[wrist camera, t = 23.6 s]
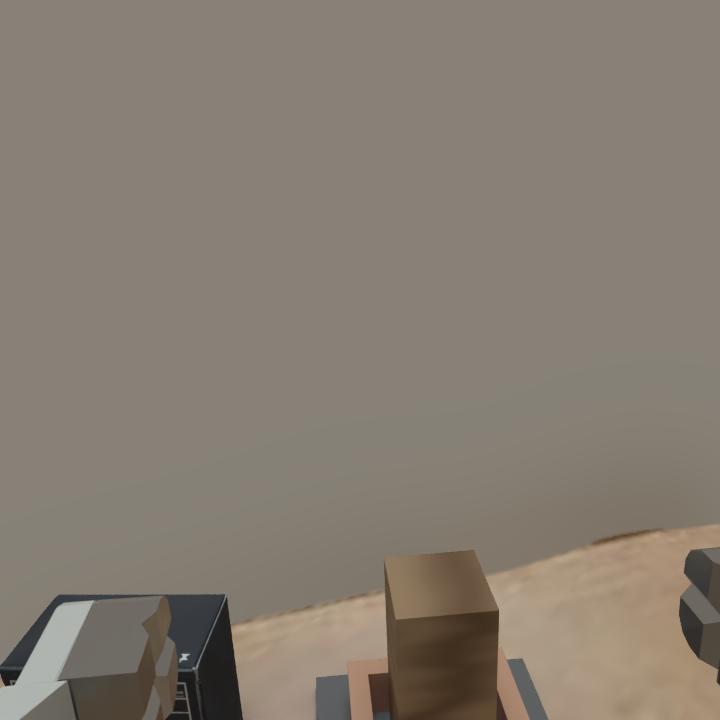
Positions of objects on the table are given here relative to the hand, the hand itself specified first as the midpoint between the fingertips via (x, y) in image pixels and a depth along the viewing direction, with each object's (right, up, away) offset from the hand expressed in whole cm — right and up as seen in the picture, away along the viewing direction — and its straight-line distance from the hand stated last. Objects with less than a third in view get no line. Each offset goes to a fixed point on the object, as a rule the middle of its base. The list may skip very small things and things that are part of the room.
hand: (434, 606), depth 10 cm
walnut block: (+3, -19, +27) cm, 33 cm away
